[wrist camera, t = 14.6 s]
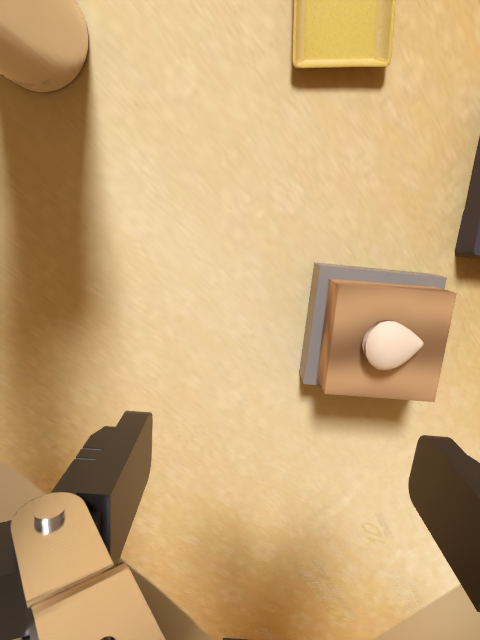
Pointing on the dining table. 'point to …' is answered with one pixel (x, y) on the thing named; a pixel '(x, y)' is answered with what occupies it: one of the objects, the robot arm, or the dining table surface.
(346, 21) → the yellow shallow square tray
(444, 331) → the tower top block
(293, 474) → the dining table surface
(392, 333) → the pistachio nut
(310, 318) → the tower base block
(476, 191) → the calculator
